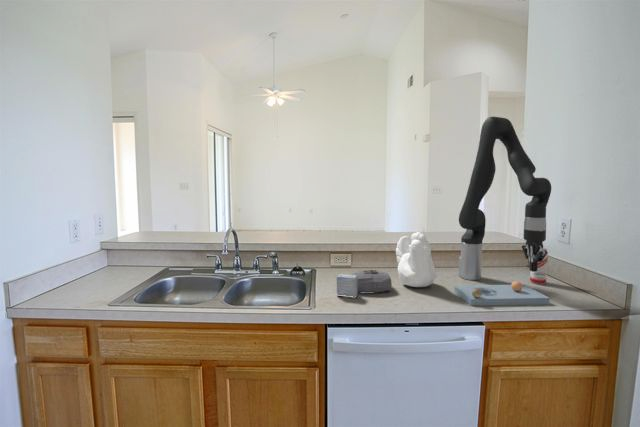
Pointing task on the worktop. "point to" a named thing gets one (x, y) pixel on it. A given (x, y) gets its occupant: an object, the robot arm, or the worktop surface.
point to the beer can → (540, 271)
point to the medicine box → (347, 285)
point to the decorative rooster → (415, 261)
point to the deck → (501, 295)
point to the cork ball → (476, 293)
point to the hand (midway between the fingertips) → (533, 271)
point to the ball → (516, 286)
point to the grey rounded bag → (373, 281)
